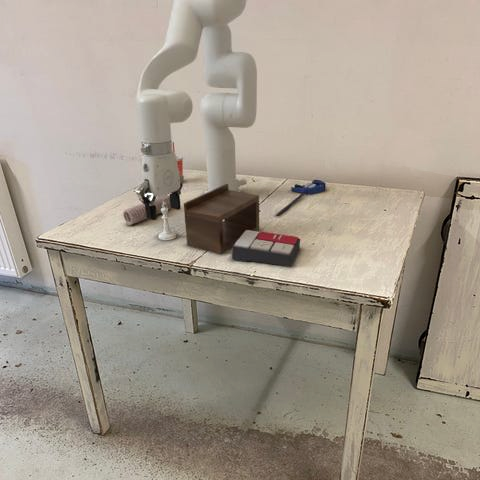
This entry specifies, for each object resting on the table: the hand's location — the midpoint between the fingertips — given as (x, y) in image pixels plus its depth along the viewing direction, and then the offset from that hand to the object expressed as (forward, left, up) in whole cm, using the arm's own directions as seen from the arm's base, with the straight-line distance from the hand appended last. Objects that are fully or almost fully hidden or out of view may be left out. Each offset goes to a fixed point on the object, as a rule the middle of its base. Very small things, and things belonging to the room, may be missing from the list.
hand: (164, 214), depth 130 cm
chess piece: (0, 0, -7) cm, 7 cm away
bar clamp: (-48, +4, -7) cm, 49 cm away
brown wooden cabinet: (-11, +11, -7) cm, 17 cm away
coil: (-5, -17, -7) cm, 19 cm away
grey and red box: (-12, +27, -7) cm, 31 cm away
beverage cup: (-32, -41, -7) cm, 53 cm away
